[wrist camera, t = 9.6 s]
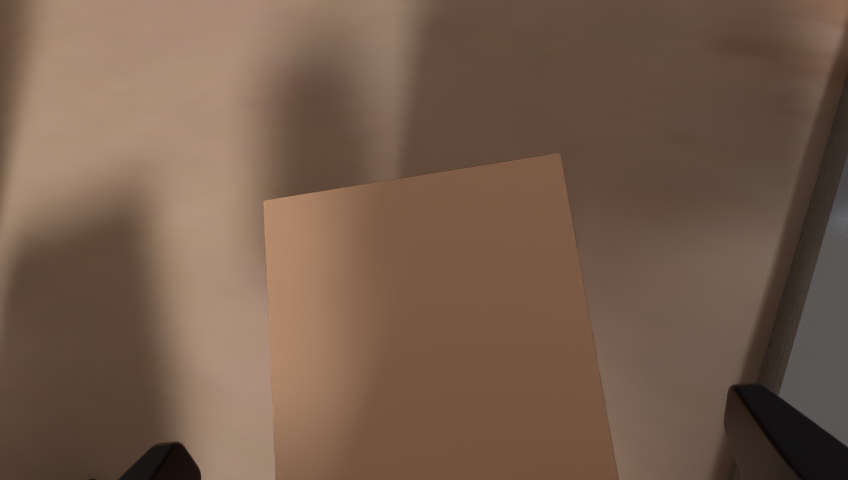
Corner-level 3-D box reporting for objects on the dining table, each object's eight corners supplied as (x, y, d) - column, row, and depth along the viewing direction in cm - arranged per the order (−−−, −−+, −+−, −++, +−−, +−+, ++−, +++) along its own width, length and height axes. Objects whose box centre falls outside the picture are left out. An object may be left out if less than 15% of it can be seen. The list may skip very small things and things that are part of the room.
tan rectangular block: (561, 416, 17) (620, 490, 8) (405, 431, 18) (277, 518, 8) (536, 260, 18) (560, 152, 9) (390, 280, 19) (263, 200, 9)
